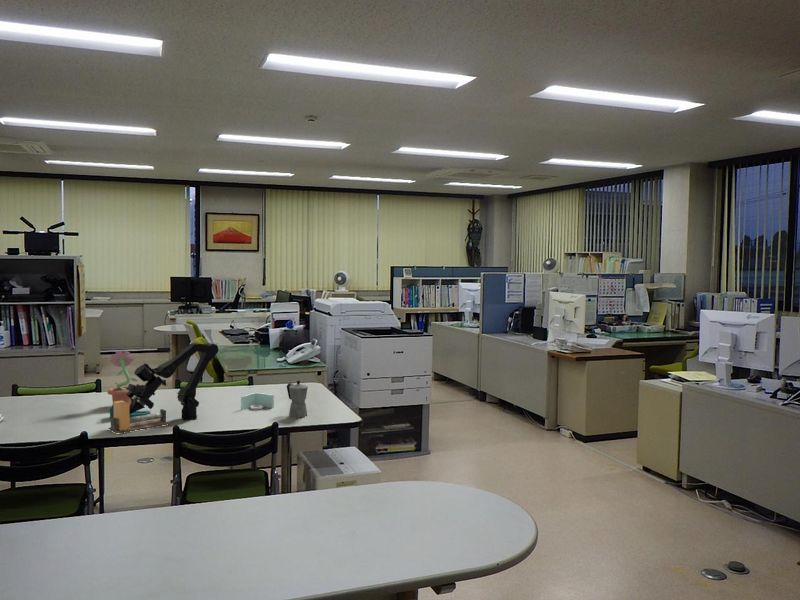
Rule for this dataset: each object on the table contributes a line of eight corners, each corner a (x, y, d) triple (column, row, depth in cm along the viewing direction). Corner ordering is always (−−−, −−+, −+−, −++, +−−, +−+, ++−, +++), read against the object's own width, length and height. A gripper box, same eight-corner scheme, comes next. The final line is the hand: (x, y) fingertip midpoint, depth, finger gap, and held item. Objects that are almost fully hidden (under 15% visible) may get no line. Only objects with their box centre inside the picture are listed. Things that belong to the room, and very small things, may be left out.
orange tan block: (122, 425, 291) (122, 400, 290) (129, 428, 285) (129, 403, 284) (113, 426, 288) (113, 401, 287) (120, 430, 282) (120, 405, 281)
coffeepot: (313, 416, 318) (314, 381, 317) (299, 419, 311) (299, 384, 309) (294, 410, 328) (294, 376, 327) (279, 414, 321) (280, 379, 320)
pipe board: (159, 420, 304) (159, 407, 304) (169, 425, 297) (169, 411, 297) (108, 430, 287) (108, 416, 287) (116, 434, 280) (116, 420, 280)
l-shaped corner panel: (241, 410, 328) (241, 396, 327) (255, 406, 339) (255, 392, 338) (259, 413, 323) (259, 399, 322) (273, 408, 334) (273, 394, 333)
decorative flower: (139, 402, 338) (139, 347, 336) (137, 409, 325) (136, 351, 323) (109, 404, 334) (108, 348, 331) (105, 410, 321) (105, 352, 318)
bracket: (110, 420, 303) (109, 404, 303) (111, 417, 310) (111, 401, 309) (150, 418, 309) (149, 402, 309) (150, 414, 316) (150, 399, 315)
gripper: (130, 374, 297) (106, 400, 290) (146, 380, 284) (122, 408, 277) (146, 388, 303) (123, 414, 296) (163, 394, 290) (140, 422, 283)
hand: (127, 414), depth 288 cm, fingers closed
